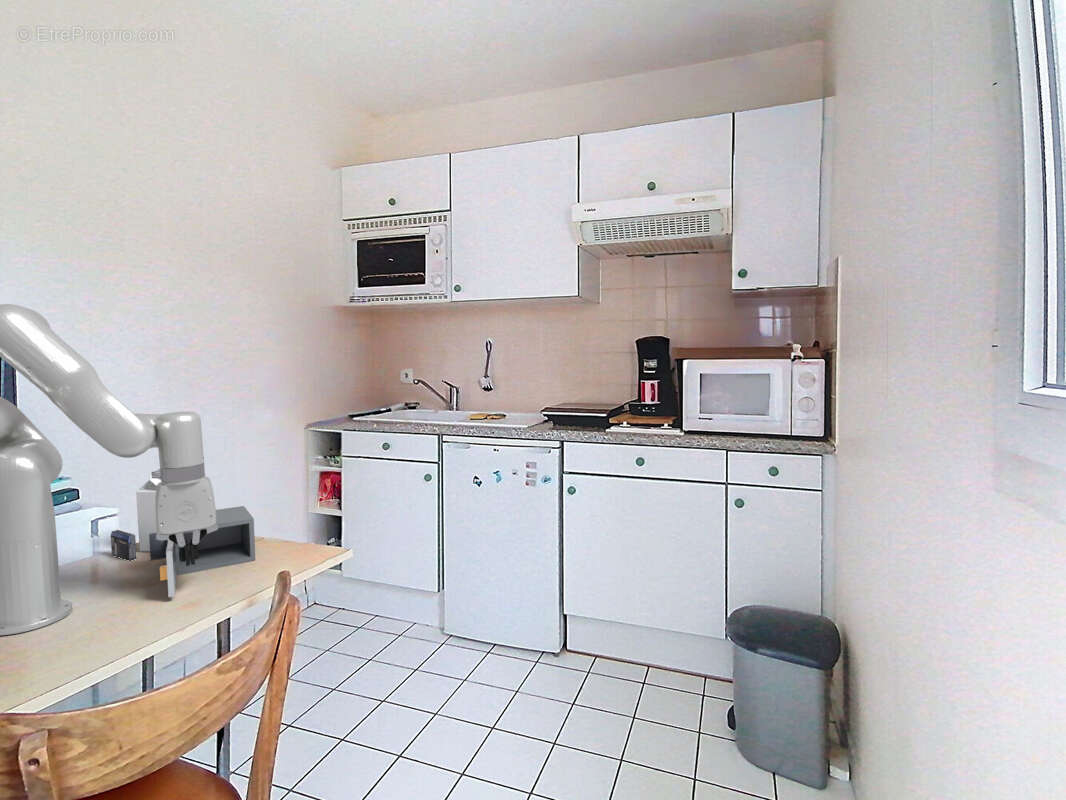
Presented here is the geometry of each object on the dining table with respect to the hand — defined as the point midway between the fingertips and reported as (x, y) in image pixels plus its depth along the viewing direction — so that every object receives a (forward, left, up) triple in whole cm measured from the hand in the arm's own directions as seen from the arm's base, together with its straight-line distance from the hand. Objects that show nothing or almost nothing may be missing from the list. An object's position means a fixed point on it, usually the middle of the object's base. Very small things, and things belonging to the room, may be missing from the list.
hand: (190, 563), depth 114 cm
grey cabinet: (+4, +19, -6) cm, 20 cm away
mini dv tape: (-11, +33, -6) cm, 35 cm away
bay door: (-4, +4, -5) cm, 7 cm away
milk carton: (-3, +36, -6) cm, 36 cm away
